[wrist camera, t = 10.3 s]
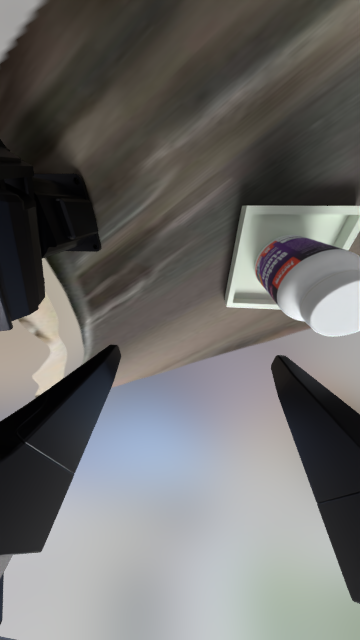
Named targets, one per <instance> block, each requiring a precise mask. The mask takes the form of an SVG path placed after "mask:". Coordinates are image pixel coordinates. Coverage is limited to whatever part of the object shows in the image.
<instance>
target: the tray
mask: <svg viewBox="0 0 360 640" xmlns="http://www.w3.org/2000/svg"><path fill="white" fill-rule="evenodd" d="M359 231H360V206H242V209H241V214H240V219H239V225H238V230H237V235H236V241H235V246H234V251H233V257H232V262H231V267H230V273H229V278H228V283H227V289H226V294H225V299H224V300H225V304H226V307H238V308H261V309H280V308H279V306H278V305H277V304H276V302H275V301H274V300H273V298H272V297H271V296H270V294H269V293H268V292H267V291H266V289H265V288H264V287H263V286H262V285H261V283H260V282H259V281H258V279H257V278H256V275H255V269H254V267H255V262H256V259H257V257H258V255H259V253H260V252H261V250H262V249H263V248H264V247H265V246H266V245H267V244H268V243H270V242H271V241H273V240H274V239H276V238H278V237H281V236H285V235H299V236H303V237H306V238H309V239H312V240H315V241H319V242H322V243H325V244H328V245H331V246H335V247H338V248H341V249H345V250H349V248H350V246H351V245H352V243H353V241H354V240H355V238H356V236H357V234H358V233H359Z"/></svg>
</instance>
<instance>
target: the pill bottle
mask: <svg viewBox="0 0 360 640" xmlns="http://www.w3.org/2000/svg"><path fill="white" fill-rule="evenodd" d="M254 269H255V275H256V278H257V279H258V281H259V282H260V283H261V285H262V286H263V287H264V288H265V289H266V291H267V292H268V293H269V294H270V296H271V297H272V298H273V300H274V301H275V302H276V304H277V305H278V306H279V308H280V309H281V310H282V311H283V312H284V313H285V314H286V315H287V316H289V317H291V318H293V319H296V320H299V321H305V322H306V323H307V324H308V325H309V326H310V327H311V328H312V329H313V330H314V331H315V332H317V333H319V334H321V335H324V336H344V335H348V334H352V333H355V332H358V331H360V256H359V255H357V254H355V253H353V252H350V251H348V250H345V249H341V248H338V247H335V246H331V245H328V244H325V243H322V242H319V241H315V240H312V239H309V238H306V237H303V236H299V235H285V236H281V237H278V238H276V239H274V240H273V241H271V242H270V243H268V244H267V245H266V246H265V247H264V248H263V249H262V250H261V252H260V253H259V255H258V257H257V259H256V262H255V267H254Z"/></svg>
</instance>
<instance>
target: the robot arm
mask: <svg viewBox="0 0 360 640" xmlns="http://www.w3.org/2000/svg"><path fill="white" fill-rule="evenodd" d="M76 179H78V180H79V184H77V182H76ZM95 245H97V248H96V247H95ZM99 250H101V244H100V240H99V236H98V228H97V224H96V220H95V216H94V212H93V208H92V205H91V202H90V201H89V198H88V195H87V191H86V187H85V183H84V180H83V178H82V177H81V176H80V175H77V174H34V171H33V165H31V164H29V163H27V162H25V161H23V160H21V158H20V157H18V156H16V155H15V154H13V153H11V152H10V150H9V149H7V148H6V147H5V145H4V144H3V142H2V141H1V139H0V331H6V330H11V329H12V328H13V325H12V322H11V321H14V320H16V319H19V318H22V317H24V316H27V315H30V314H32V313H33V312H35V311H36V310H38V309H39V308H38V305H39V304H40V303H41V302H42V300H43V299H44V298H45V286H44V283H45V282H44V277H43V267H42V258H45V257H48V256H51V255H54V254H57V253H60V252H63V251H96V252H97V251H99ZM120 359H121V353H120V350H119V347H118V345H109V346H108V347H106V348H105V349H104V350H102V351H101V352H99V353H98V354H97V355H95V356H94V357H92V358H91V359H90V360H88V361H87V362H85V363H84V364H83V365H81V366H80V367H79V368H77V369H76V370H75V371H73V372H72V373H70V374H69V375H67V376H66V377H65V378H63V379H62V380H60V381H59V382H58V383H56V384H55V385H53V386H52V387H51V388H50V389H48V390H46V391H45V392H44V393H42V394H41V395H40V396H38V397H37V398H35V399H34V400H32V401H31V402H29V403H28V404H27V405H25V406H23V407H22V408H20V409H19V410H17V411H16V412H15V413H13V414H11V415H10V416H8V417H7V418H5V419H4V420H2V421H0V624H1V622H2V609H3V606H2V605H3V574H4V571H5V569H6V567H7V565H8V563H9V561H10V559H11V557H12V555H15V554H26V553H38V552H41V551H42V549H43V547H44V545H45V542H46V540H47V538H48V535H49V533H50V531H51V528H52V526H53V524H54V520H55V519H56V516H57V514H58V512H59V509H60V507H61V505H62V502H63V500H64V498H65V495H66V493H67V490H68V488H69V486H70V483H71V481H72V479H73V476H74V473H75V471H76V469H77V467H78V464H79V462H80V460H81V457H82V455H83V453H84V450H85V448H86V445H87V443H88V441H89V439H90V436H91V434H92V431H93V429H94V427H95V424H96V422H97V420H98V417H99V415H100V413H101V410H102V408H103V406H104V403H105V401H106V398H107V396H108V394H109V392H110V389H111V387H112V384H113V382H114V379H115V375H116V372H117V369H118V365H119V362H120ZM271 370H272V374H273V378H274V382H275V386H276V390H277V393H278V397H279V400H280V402H281V406H282V408H283V411H284V414H285V417H286V419H287V422H288V425H289V428H290V430H291V433H292V436H293V439H294V441H295V444H296V447H297V450H298V452H299V455H300V458H301V461H302V463H303V466H304V469H305V472H306V474H307V477H308V480H309V483H310V486H311V488H312V491H313V494H314V497H315V499H316V502H317V505H318V508H319V511H320V513H321V516H322V519H323V522H324V524H325V527H326V530H327V533H328V535H329V538H330V541H331V544H332V547H333V549H334V552H335V555H336V558H337V560H338V563H339V566H340V569H341V571H342V574H343V577H344V579H345V582H346V585H347V588H348V590H349V593H350V595H351V598H352V600H353V601H354V602H357V603H359V604H360V414H359V413H357V412H356V411H355V410H353V409H352V408H351V407H350V406H348V405H347V404H346V403H344V402H343V401H342V400H341V399H340V398H338V397H337V396H336V395H334V394H333V393H332V392H330V391H329V390H328V389H327V388H325V387H324V386H323V385H322V384H321V383H319V382H318V381H317V380H315V379H314V378H313V377H312V376H310V375H309V374H308V373H307V372H305V371H304V370H303V369H301V368H300V367H299V366H298V365H296V364H295V363H294V362H293V361H291V360H290V359H289V358H288V357H286V356H282V355H277V356H276V357H275V359H274V361H273V363H272V365H271ZM0 640H15V639H10V638H5V637H0Z"/></svg>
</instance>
